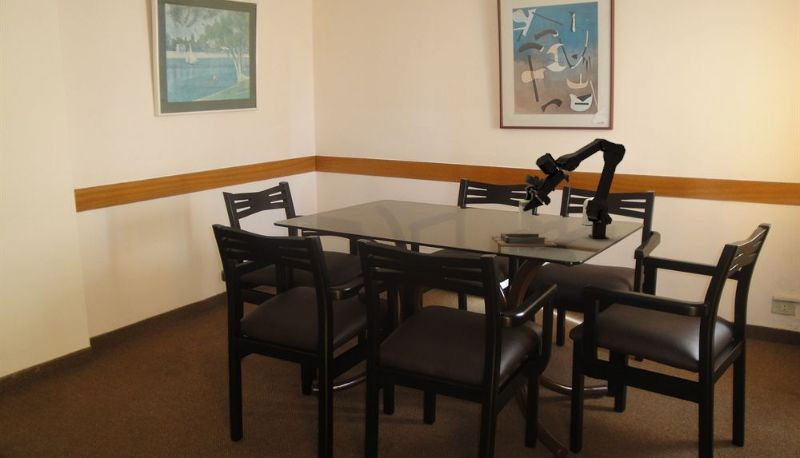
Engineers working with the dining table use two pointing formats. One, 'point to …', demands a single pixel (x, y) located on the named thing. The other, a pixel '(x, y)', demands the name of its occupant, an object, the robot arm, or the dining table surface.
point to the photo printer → (585, 218)
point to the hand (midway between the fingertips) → (522, 209)
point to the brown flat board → (523, 240)
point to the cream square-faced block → (524, 216)
